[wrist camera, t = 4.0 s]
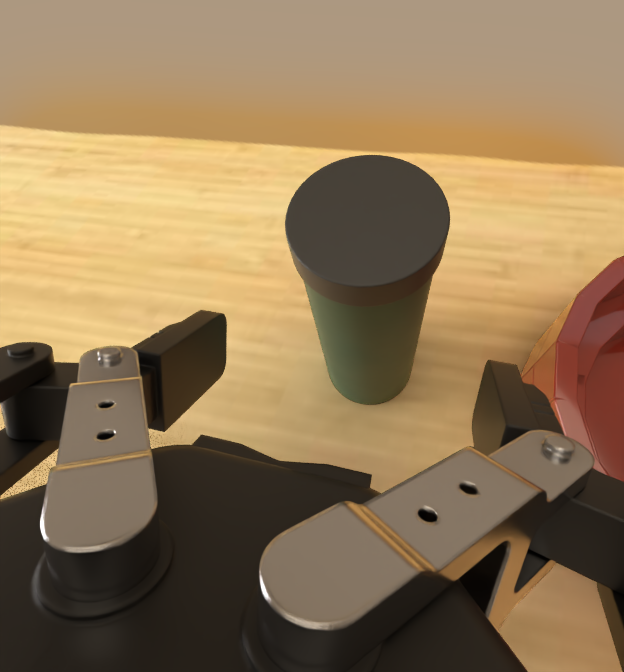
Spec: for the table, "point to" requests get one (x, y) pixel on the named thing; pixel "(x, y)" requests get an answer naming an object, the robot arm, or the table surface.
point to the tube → (368, 266)
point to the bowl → (587, 369)
